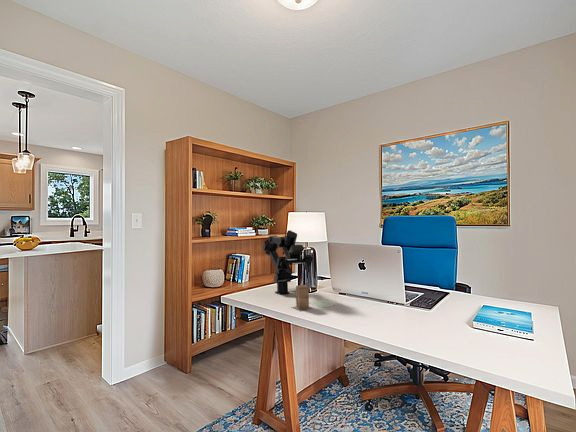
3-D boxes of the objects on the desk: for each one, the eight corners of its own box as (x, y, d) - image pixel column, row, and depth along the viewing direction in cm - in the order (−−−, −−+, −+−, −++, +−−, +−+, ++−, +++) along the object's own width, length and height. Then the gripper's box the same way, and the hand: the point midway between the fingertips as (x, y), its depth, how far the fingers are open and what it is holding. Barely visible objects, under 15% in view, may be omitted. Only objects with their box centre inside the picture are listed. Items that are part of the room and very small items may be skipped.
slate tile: (290, 308, 146) (290, 307, 146) (304, 305, 150) (304, 304, 150) (300, 312, 139) (300, 311, 139) (314, 309, 144) (314, 308, 144)
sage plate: (308, 303, 153) (308, 302, 153) (324, 300, 158) (324, 299, 158) (321, 308, 144) (321, 307, 144) (337, 305, 150) (337, 304, 150)
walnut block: (296, 307, 146) (295, 285, 146) (305, 306, 148) (305, 284, 148) (299, 309, 142) (299, 287, 142) (308, 308, 143) (308, 286, 143)
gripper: (275, 241, 158) (285, 260, 146) (309, 239, 165) (321, 258, 152) (272, 258, 163) (281, 278, 151) (304, 256, 170) (316, 275, 158)
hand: (300, 272), depth 153 cm, fingers open, 9 cm apart
